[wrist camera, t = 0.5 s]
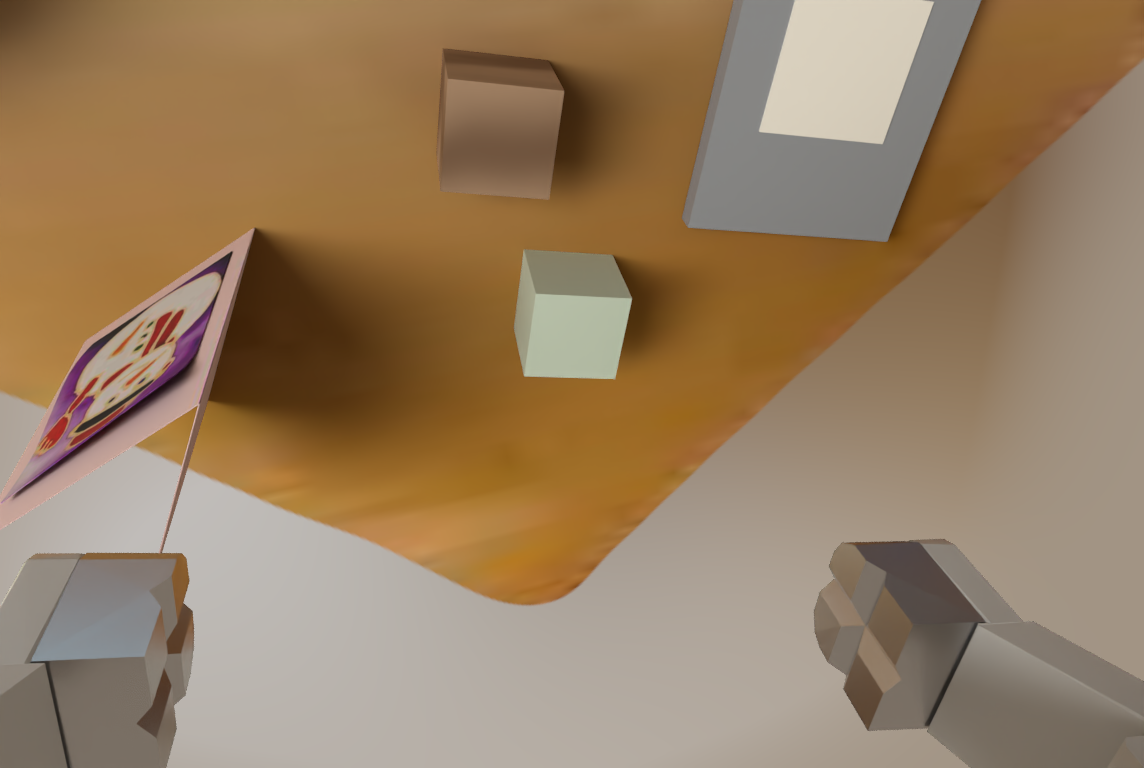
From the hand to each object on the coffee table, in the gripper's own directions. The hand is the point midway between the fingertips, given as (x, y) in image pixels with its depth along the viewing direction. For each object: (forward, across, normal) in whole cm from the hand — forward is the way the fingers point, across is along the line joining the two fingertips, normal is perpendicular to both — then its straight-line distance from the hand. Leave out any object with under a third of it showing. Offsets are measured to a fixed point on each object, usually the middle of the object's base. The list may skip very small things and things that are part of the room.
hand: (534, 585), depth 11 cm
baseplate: (+34, -20, -3) cm, 40 cm away
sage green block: (+36, -8, +11) cm, 38 cm away
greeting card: (+36, +11, +14) cm, 40 cm away
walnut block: (+35, -3, +1) cm, 35 cm away
